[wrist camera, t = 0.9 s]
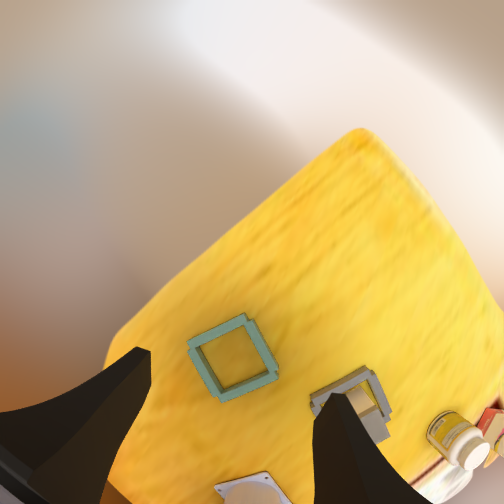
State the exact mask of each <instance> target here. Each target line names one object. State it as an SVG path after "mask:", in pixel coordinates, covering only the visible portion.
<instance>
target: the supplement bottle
mask: <svg viewBox="0 0 504 504" xmlns="http://www.w3.org/2000/svg"><path fill="white" fill-rule="evenodd" d="M427 439H428V441H429V442H430V444H431V445H432V446H433V447H434V448H435V449H436V450H437V451H438V452H439V453H440V454H441V455H442V456H443V457H444V458H445V459H446V460H447V461H448V462H449V463H450V464H452V465H455V466H457V465H461V467H463V468H464V469H465V470H467V471H469V470H472V469H474V468H476V467H477V466H479V465H480V464H481V463H482V462H483V460H484V459H485V458H486V456H487V455H488V452H489V450H490V444H489V443H488V442H487V441H485V440H484V439H483V434H482V431H481V430H480V429H479V428H477V427H476V426H474V425H473V424H471V423H470V422H469V421H467V420H466V419H464V418H463V417H461V416H460V415H459V414H457V413H455V412H453V411H447V412H444V413H442V414H440V415H439V416H438V417H437V418H436V419H435V420H434V421H433V422H432V423H431V425H430V427H429V429H428V432H427Z"/></svg>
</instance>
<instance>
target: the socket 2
mask: <svg viewBox="0 0 504 504" xmlns="http://www.w3.org/2000/svg"><path fill="white" fill-rule="evenodd" d="M366 379H367V381H368V384H369V386H370V388H371V390H372V392H373V394H374V397H375V399H376V401H377V403H378V406H379V408H380V410H381V412H380V413H381V415H382V418H383V420H384V422H385V423H386V422H388V421H390V420H391V419H390V416H389V414H390V413H391V412H392V410H391V408H390V405H389V403H388V401H387V398H386V396H385V394H384V391H383V389H382V387H381V385H380V382H379V380H378V378H377V376H376V374H375V373H374V372H373V371H372V370H371V371H369V369H368V368H367V367H366V366H363V367H361V368H360V369H358V370H356V371H355V372H353V373H351V374H349V375H347V376H346V377H344V378H342V379H340V380H338V381H336V382H335V383H333V384H331V385H329V386H327V387H325V388H323V389H321V390H319V391H317V392H315V393H313V394H311V395H310V396H311V400H312V403H310V406H311V409H312V411H313V413H314V415H315V416H316V417H317V416H318V414H319V412H320V411H321V409H322V406H321V405H320V404H322V403H324V402H326V401H327V399H328V398H329V396H330V395H331V393H343V392H345V391H347V390H349V389H350V388H352V387H354V386H356V385H358V384H359V383H361V382H363V381H365V380H366Z"/></svg>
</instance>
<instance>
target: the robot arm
mask: <svg viewBox="0 0 504 504" xmlns="http://www.w3.org/2000/svg"><path fill="white" fill-rule="evenodd" d="M150 387H151V351H148V350H145V349H142V348H140V347H135V348H133V349H132V350H131V351H129V352H128V353H127V354H125V355H124V356H123V357H121V358H120V359H119V360H117V361H116V362H115V363H113V364H112V365H110V366H109V367H108V368H106V369H105V370H103V371H102V372H100V373H99V374H97V375H96V376H94V377H93V378H91V379H89V380H88V381H86V382H84V383H83V384H81V385H79V386H78V387H76V388H74V389H72V390H70V391H68V392H66V393H64V394H62V395H60V396H57V397H55V398H53V399H50V400H48V401H45V402H43V403H39V404H37V405H33V406H30V407H26V408H22V409H18V410H14V411H8V412H1V413H0V504H99V502H100V499H101V496H102V493H103V490H104V486H105V483H106V480H107V478H108V475H109V472H110V469H111V467H112V464H113V462H114V459H115V456H116V454H117V452H118V449H119V447H120V445H121V443H122V442H123V440H124V438H125V436H126V434H127V433H128V431H129V429H130V427H131V426H132V424H133V422H134V420H135V419H136V417H137V415H138V413H139V411H140V410H141V408H142V406H143V404H144V402H145V399H146V397H147V394H148V392H149V389H150ZM312 446H313V464H314V482H315V496H314V504H433V503H431V502H430V501H428V500H427V499H426V498H424V497H423V496H422V495H420V494H419V493H418V492H417V491H416V490H414V489H413V488H412V487H411V486H410V485H409V484H408V483H407V482H406V481H405V480H404V479H403V478H402V477H401V476H400V475H399V474H398V473H397V472H396V471H395V469H394V468H393V467H392V466H391V465H390V464H389V462H388V461H387V460H386V459H385V457H384V456H383V455H382V453H381V452H380V450H379V449H378V447H377V446H376V445H375V443H374V442H373V440H372V438H371V437H370V435H369V434H368V432H367V430H366V429H365V427H364V425H363V424H362V422H361V420H360V418H359V417H358V415H357V413H356V411H355V410H354V408H353V406H352V404H351V403H350V401H349V399H348V397H347V396H346V394H341V393H331V395H330V396H329V398H328V399H327V401H326V403H325V404H324V406H323V408H322V409H321V411H320V412H319V414H318V416H317V417H316V419H315V420H314V425H313V440H312ZM266 477H268V478H266ZM214 488H215V489H216V491H217V492H218V493H219V494H220V495H221V496H222V498H223V499H224V500H225V501H224V504H292V503H291V501H290V500H289V499H288V498H287V497H286V495H285V494H284V493H283V491H282V490H281V489H280V488H279V486H278V485H277V484H276V482H275V481H274V480H273V478H272V477H271V476H270V474H269V473H268V472H261V473H258V474H255V475H251V476H248V477H244V478H241V479H237V480H233V481H229V482H225V483H221V484H216V485H215V487H214ZM219 489H221V490H219Z"/></svg>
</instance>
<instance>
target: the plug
mask: <svg viewBox="0 0 504 504" xmlns="http://www.w3.org/2000/svg"><path fill="white" fill-rule="evenodd" d="M345 394H346V396H347V397H348V399H349V401H350V403H351V404H352V406H353V408H354V410H355V411H356V413H357V415H358V417H359V418H360V420H361V422H362V424H363V425H364V427H365V429H366V430H367V432H368V434H369V435H370V437H371V438H372V440H373V442H374V443H375V445H376V444H378V443H380V442H381V441H383V440H385V439H387V438H388V437H390V434H389V431H388V429H387V427H386V425H385V422H384V420H383V418H382V415H381V413H380V411H379V409H378V407H377V406H376V405H375V404H374V403H373V402H372V401H371V399H370V398H369V397H368V395H367V394H366V393H365V391H364V390H363V389H362V388H361V386H360V385H359V386H358V387H356V388H354V389H352V390H350V391H349V392H347V393H345Z"/></svg>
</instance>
